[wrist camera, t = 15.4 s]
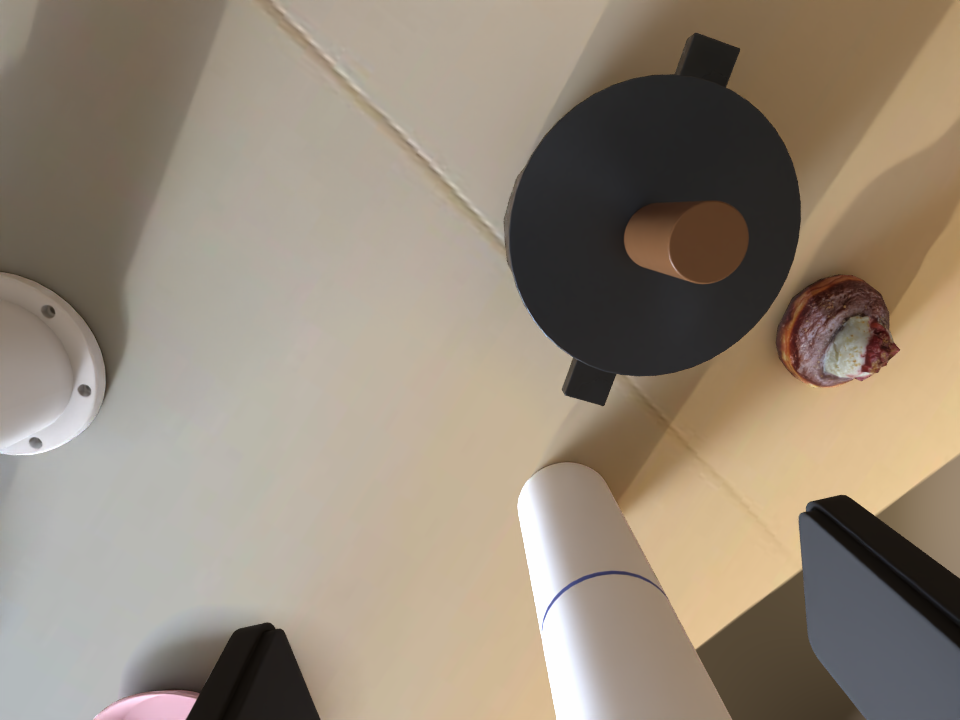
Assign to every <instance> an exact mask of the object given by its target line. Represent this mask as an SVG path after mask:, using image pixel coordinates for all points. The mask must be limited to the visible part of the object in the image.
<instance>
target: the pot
mask: <svg viewBox="0 0 960 720" xmlns="http://www.w3.org/2000/svg"><path fill="white" fill-rule="evenodd" d="M739 52H740V48H737V47H734V46H731V45H729V44H726V43H723V42H721V41H718V40H715V39H712V38H710V37H707V36H704V35H701V34H699V33H694V34H693V35H692V36H690V37H689V38H688V39H687V41H686V44H685V47H684V49H683V52H682V55H681V58H680V61H679V63H678V66H677V69H676V72H675V75H683V76H692V77H697V78H700V79H704V80H708V81H711V82H714V83H716V84H719V85H721V86H723V87H725V88H726V86H727V83H728V80H729V78H730V75H731V73H732V70H733V67H734V65H735V62H736V60H737V57H738V54H739ZM525 167H526V166H525ZM524 169H525V168H524ZM524 169H523V170H524ZM523 170H522V171H521V173H520V174H519V175H518V176H517V179H516V181H515V184H514V187H513V191H512V193H511V196H510V199H509V202H508V207H507V210H506V214H505V217H504V232H505V247H506V256H507V262H508V265H509V267H510V269H511V264H510V257H509V246H508V229H509V220H510V211H511V207H512V203H513V198H514V194H515V191H516V188H517V185H518V183H519V180H520V177H521V175H522V172H523ZM511 271H512V270H511ZM615 376H616V374H615V373H611V372H606V371H603V370H600V369H597V368H594V367H592V366H589V365H587V364H585V363H583V362H581V361H579V360H577V359H575V358H573V360H572V362H571V365H570V368H569V371H568V374H567V376H566V379H565V382H564V385H563V388H562V391H563V393H564V394H565V395H566V396H569V397H573V398H577V399H580V400H584V401H587V402H591V403H594V404H598V405H602V406H604V405H605V402H606V400H607V397H608V395H609V392H610V389H611V387H612V384H613V381H614V379H615Z"/></svg>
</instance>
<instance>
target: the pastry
mask: <svg viewBox="0 0 960 720" xmlns="http://www.w3.org/2000/svg"><path fill="white" fill-rule="evenodd" d="M776 345H777V350H778V355H779V358H780V360H781V361H782V363H783V364H784V365H785V367H786V368H787V369H788V371H789V372H790V373H791V374H792V375H793V376H794V377H796V378H797V379H799V380H801V381H803V382H804V383H806V384H808V385H810V386H812V387H813V388H821V387H837V386H839V385H842V384H844V383H846V382H849V381H851V380H853V379H854V378H855V379H857V380H859V381H863V380H864V379H866V378H868V377H870V376H872V375H873V374H874V373H878V372H879V370H880V368H881V367H883V366H886V365H887V363H888V360H890V359H891V358H892V357H893V356H894V355H895V354H896V353H897V352H899V351H900V349H899V348H898V347H897V346H896V344H895V343H894V342H893V339H892V335H891V332H890V331H889V311H888V309H887V307H886V304H885V302H884V300H883V298H882V295H881V294H880V293H879V292H878V291H876V290H875V289H874V288H872V287H871V286H870V285H869V284H867V283H866V282H865V281H863V280H861V279H859V278H857V277H855V276H853V275H835V276H831V277H827V278H824V279H820V280H818V281H817V282H815V283H813V284H811V285H810V286H808V287H807V288H805V289H804V290H803V291H801V292H800V293H799V294H797V295H796V296H795V297H793V298H792V300H791V302H790V304H789V306H788V308H787V310H786V312H785V314H784V316H783V318H782V320H781V322H780V324H779V326H778V330H777V338H776Z"/></svg>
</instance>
